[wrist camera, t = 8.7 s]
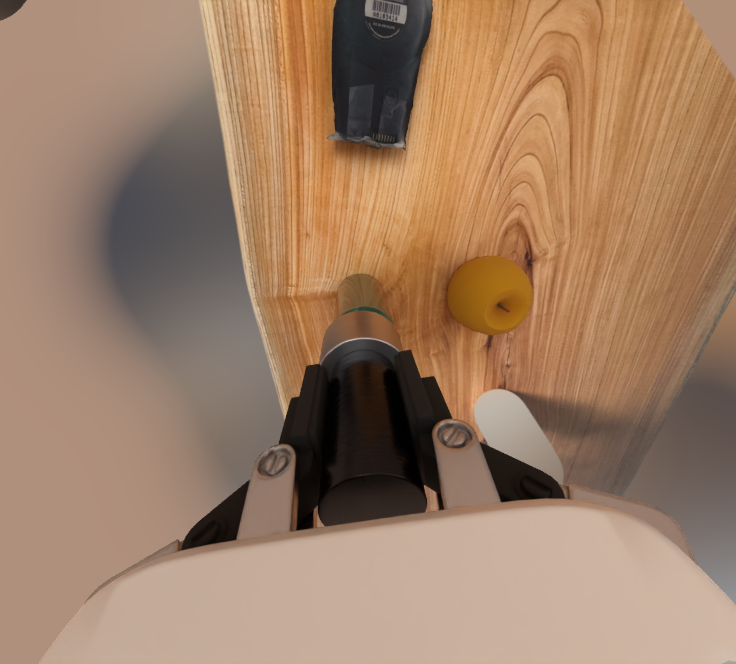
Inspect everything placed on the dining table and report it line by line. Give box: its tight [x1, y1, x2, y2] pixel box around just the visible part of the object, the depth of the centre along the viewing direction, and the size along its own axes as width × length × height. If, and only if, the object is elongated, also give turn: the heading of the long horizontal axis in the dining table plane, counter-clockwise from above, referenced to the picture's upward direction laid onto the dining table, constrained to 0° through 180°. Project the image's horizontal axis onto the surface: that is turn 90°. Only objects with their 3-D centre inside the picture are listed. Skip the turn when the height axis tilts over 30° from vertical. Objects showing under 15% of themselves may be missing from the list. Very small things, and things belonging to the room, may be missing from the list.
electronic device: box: [327, 0, 433, 150], centre depth 29 cm, size 9×6×15 cm
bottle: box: [333, 274, 395, 327], centre depth 35 cm, size 7×7×17 cm
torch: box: [318, 311, 427, 527], centre depth 12 cm, size 4×4×9 cm
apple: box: [447, 256, 533, 335], centre depth 37 cm, size 10×10×12 cm
